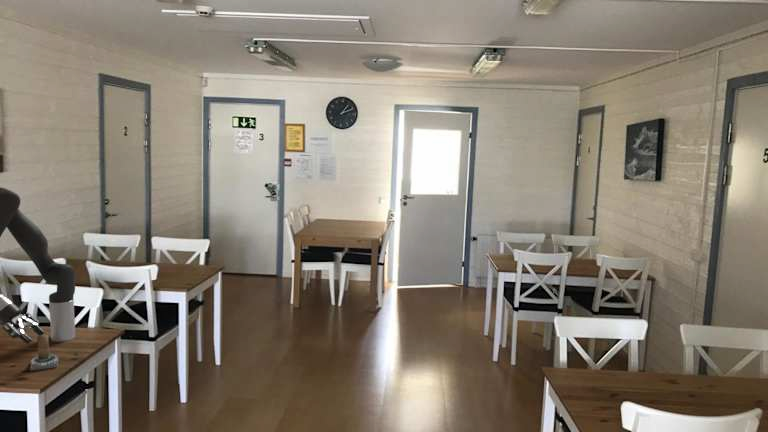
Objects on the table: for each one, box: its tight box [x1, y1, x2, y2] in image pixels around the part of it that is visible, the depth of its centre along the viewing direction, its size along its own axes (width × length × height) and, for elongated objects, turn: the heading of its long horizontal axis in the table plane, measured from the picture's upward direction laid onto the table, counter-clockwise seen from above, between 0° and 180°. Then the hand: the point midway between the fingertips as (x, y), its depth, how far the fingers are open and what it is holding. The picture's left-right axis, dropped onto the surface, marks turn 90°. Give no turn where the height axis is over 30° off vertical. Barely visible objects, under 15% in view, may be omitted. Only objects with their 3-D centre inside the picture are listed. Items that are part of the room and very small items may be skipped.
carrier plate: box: [29, 354, 59, 372], centre depth 219 cm, size 9×9×2 cm
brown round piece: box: [36, 334, 53, 362], centre depth 219 cm, size 6×6×10 cm
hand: (36, 338), depth 218 cm, fingers open, 8 cm apart
